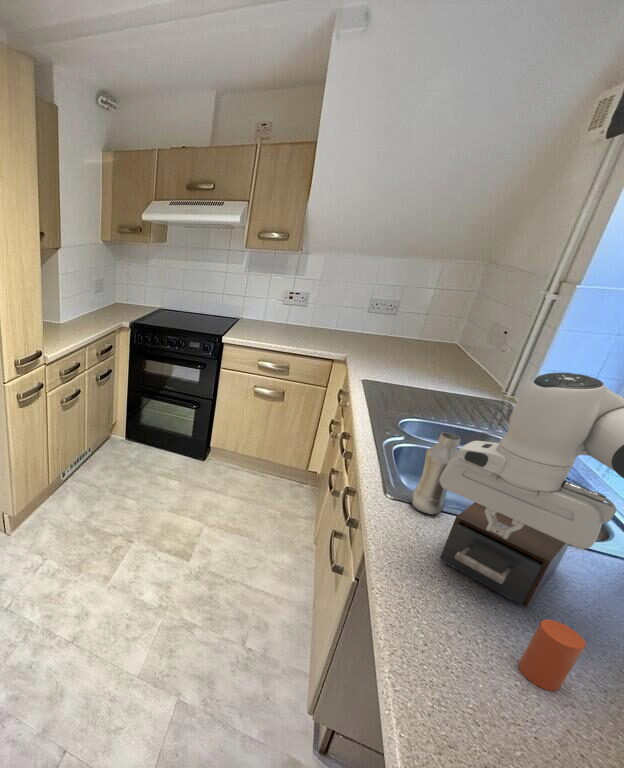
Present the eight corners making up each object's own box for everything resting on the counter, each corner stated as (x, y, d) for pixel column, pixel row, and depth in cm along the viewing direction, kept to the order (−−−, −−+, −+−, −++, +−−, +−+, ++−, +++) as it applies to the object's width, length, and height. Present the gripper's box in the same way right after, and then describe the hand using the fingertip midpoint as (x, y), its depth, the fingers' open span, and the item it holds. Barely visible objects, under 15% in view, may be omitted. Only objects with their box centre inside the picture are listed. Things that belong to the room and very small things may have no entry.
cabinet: (526, 607, 74) (550, 561, 70) (439, 558, 85) (456, 516, 81) (555, 570, 82) (578, 527, 79) (472, 529, 93) (489, 490, 89)
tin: (563, 680, 62) (590, 638, 59) (554, 697, 60) (581, 654, 57) (523, 655, 66) (546, 614, 62) (513, 670, 63) (536, 628, 60)
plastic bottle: (439, 506, 101) (466, 434, 94) (442, 521, 96) (471, 446, 88) (407, 497, 104) (431, 426, 97) (409, 511, 99) (434, 438, 91)
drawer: (510, 617, 71) (530, 578, 68) (429, 569, 81) (443, 533, 78) (548, 570, 81) (567, 535, 78) (472, 532, 91) (486, 499, 88)
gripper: (626, 495, 62) (585, 565, 67) (463, 437, 78) (440, 497, 83) (616, 508, 59) (574, 581, 64) (448, 445, 75) (425, 507, 80)
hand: (497, 533), depth 73 cm, fingers closed
